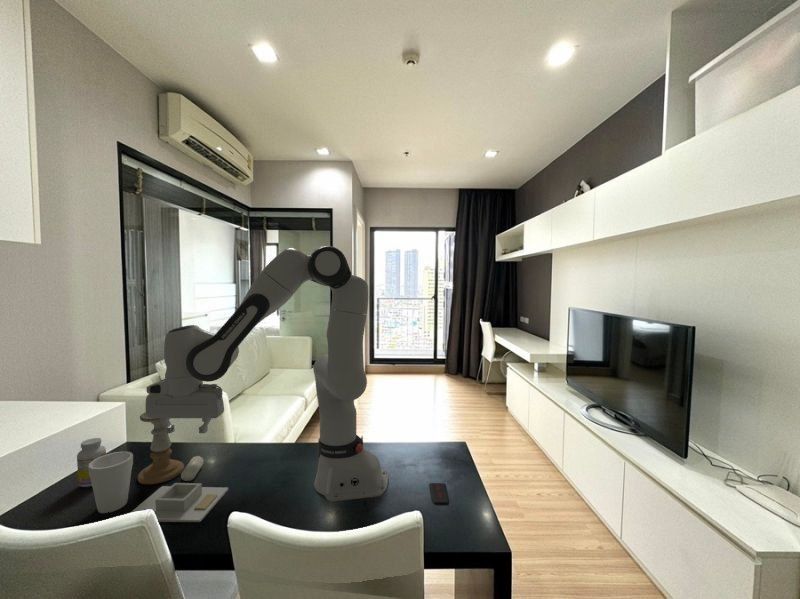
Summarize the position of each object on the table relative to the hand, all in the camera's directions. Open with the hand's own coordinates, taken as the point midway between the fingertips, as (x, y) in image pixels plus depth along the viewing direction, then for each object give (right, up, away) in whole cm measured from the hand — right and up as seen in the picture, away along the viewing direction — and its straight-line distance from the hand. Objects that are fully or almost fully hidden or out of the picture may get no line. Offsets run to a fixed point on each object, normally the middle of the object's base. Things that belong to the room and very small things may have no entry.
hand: (186, 432), depth 96 cm
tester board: (-1, -20, -1) cm, 20 cm away
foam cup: (-20, -20, -1) cm, 28 cm away
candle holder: (-17, -19, +15) cm, 30 cm away
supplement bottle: (-35, -19, +10) cm, 41 cm away
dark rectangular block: (+71, -21, +2) cm, 74 cm away
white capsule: (-6, -17, +11) cm, 21 cm away
